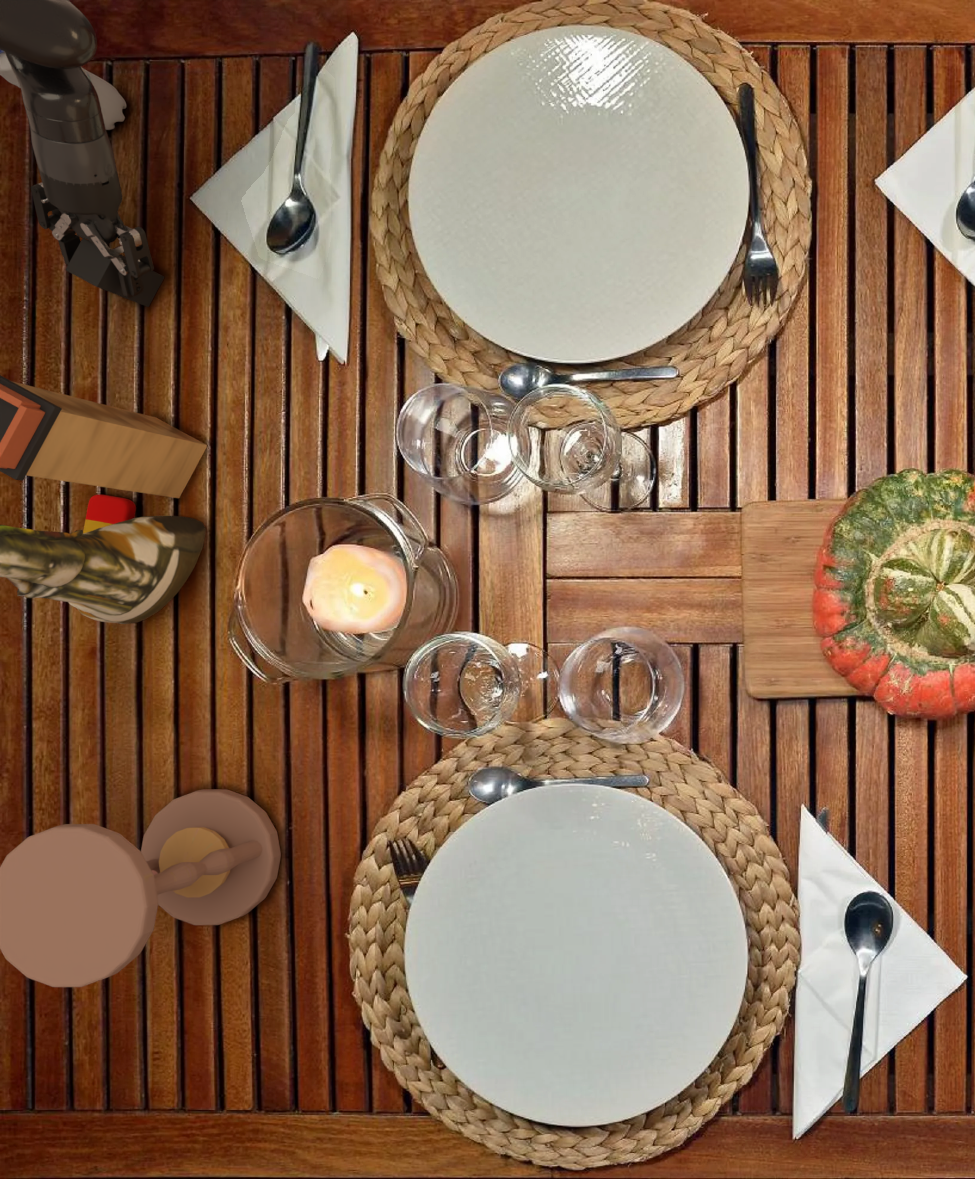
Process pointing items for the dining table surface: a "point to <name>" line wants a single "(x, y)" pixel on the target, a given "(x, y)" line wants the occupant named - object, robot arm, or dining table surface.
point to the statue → (105, 565)
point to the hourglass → (131, 885)
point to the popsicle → (107, 511)
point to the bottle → (105, 91)
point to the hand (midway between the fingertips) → (104, 279)
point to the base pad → (22, 427)
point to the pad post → (109, 273)
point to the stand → (114, 448)
